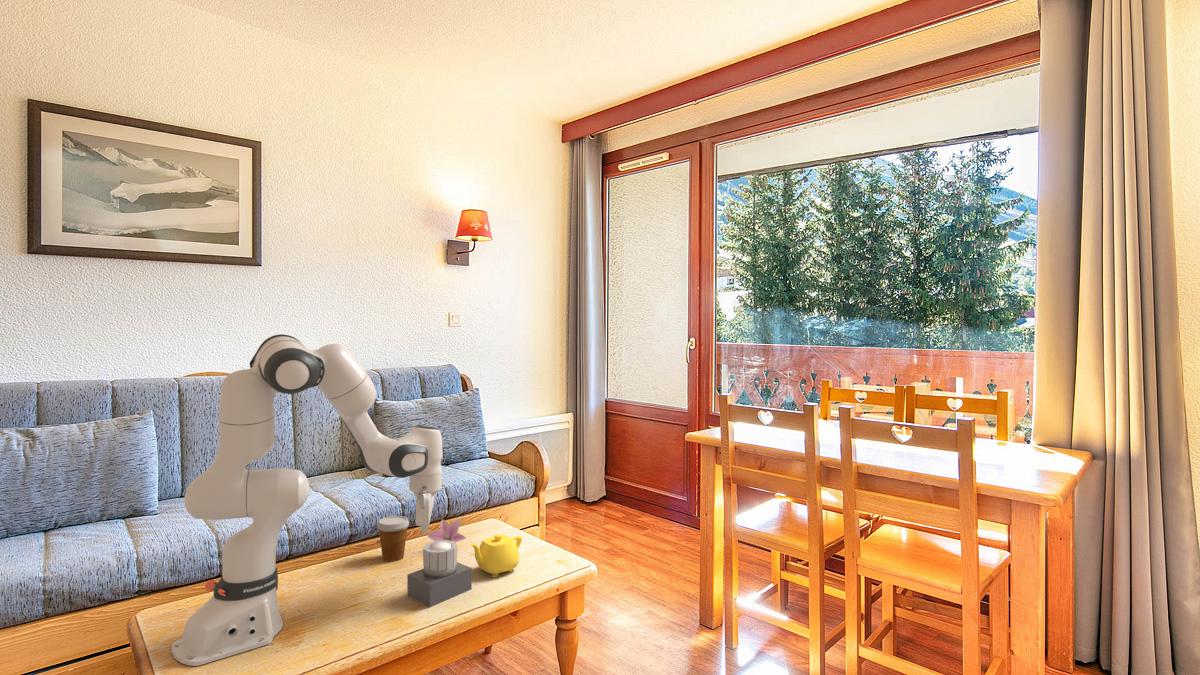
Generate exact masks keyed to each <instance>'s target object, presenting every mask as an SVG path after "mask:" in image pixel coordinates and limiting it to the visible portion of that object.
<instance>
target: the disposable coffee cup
mask: <svg viewBox="0 0 1200 675" xmlns="http://www.w3.org/2000/svg"><path fill="white" fill-rule="evenodd" d="M409 524H410V522H409V519H408V517H406V516H403V515H390V516H385V517H382V518H381V519H379V520H378V524H377V526H376V528H377V529H378V531H379V540H380V548H381V555H382V560H383V561H384V562H397V561H401V560H402V559H404V557H405V549H406V543H407V542H406V540H407V534H408V527H409V526H410V525H409Z"/></svg>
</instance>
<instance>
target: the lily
mask: <svg viewBox="0 0 1200 675" xmlns="http://www.w3.org/2000/svg"><path fill="white" fill-rule="evenodd" d="M461 523H462V518H461V517H459V518H458V519H456V520H454V521H452V522H451V523H450V524H449V523H448V522H447V521H446V520H445V519H442V520H441V522H440V529H436V530H434V531H430V532H429V533H428V532H427V533H426V536H427V538H429V539H431V540H432V541H440V540H447V541H452V542H455V543H457V542H461V541H464V540H466V536H465V535H463V534H462V533H459V532H458V531H459V529H460V526H461Z"/></svg>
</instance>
